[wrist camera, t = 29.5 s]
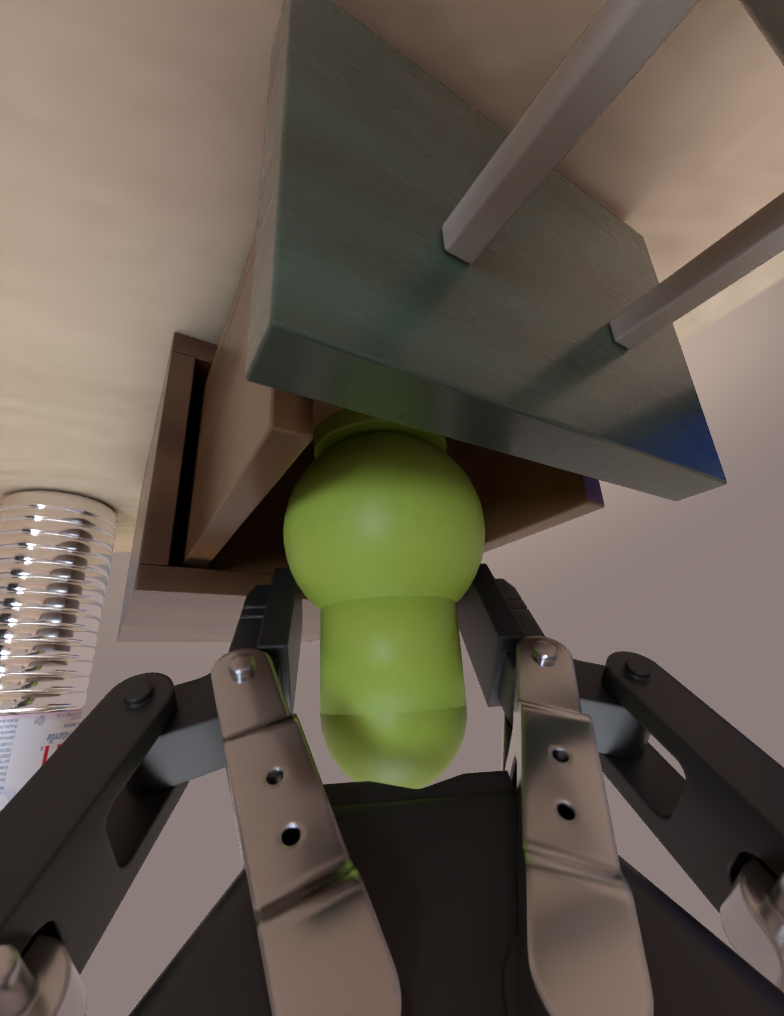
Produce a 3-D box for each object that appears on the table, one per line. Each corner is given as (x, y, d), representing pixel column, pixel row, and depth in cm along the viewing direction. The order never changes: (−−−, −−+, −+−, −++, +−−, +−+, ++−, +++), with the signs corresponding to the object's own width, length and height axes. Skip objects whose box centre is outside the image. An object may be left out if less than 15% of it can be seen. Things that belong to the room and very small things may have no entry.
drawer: (513, -858, 4) (1085, -1439, 1) (900, 18, 9) (1164, 337, 6) (177, 401, 19) (151, 582, 17) (388, 451, 25) (395, 597, 22)
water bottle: (7, 477, 27) (-152, 1039, 18) (132, 502, 32) (53, 964, 23) (-5, 509, 32) (-138, 973, 23) (105, 528, 36) (31, 921, 27)
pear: (252, 400, 12) (218, 931, 8) (471, 368, 11) (550, 939, 7) (321, 484, 17) (319, 829, 13) (472, 466, 16) (518, 827, 12)
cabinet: (174, 331, 17) (133, 591, 13) (429, 410, 23) (447, 606, 19) (142, 486, 29) (116, 642, 26) (312, 512, 35) (310, 642, 32)
